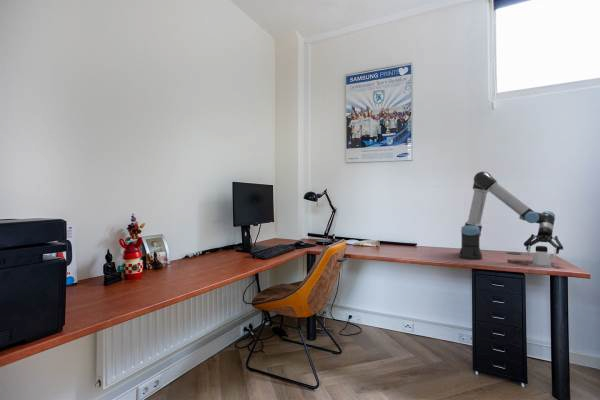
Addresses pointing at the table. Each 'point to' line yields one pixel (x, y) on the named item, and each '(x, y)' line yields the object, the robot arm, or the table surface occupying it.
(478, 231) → the robot arm
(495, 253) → the table surface
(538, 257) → the medicine bottle
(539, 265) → the grey mat
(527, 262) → the walnut stop
